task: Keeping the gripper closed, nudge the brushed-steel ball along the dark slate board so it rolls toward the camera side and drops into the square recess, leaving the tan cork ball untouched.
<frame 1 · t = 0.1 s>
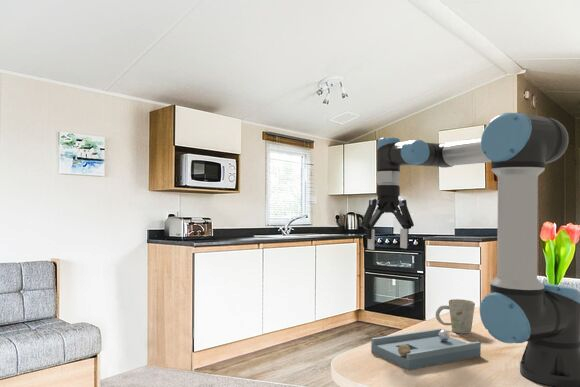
hand: (387, 248, 156), 28 cm above the table, fingers open, 13 cm apart
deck: (425, 354, 135), on the table
steel ball: (443, 335, 139), point 4 cm above the table, touching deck
mug: (454, 331, 160), on the table
cork ball: (404, 350, 125), point 4 cm above the table, touching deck
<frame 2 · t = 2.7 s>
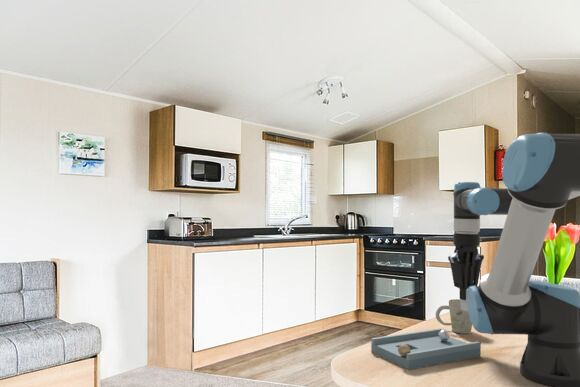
hand: (465, 310, 144), 11 cm above the table, fingers closed
nothing on the table moved.
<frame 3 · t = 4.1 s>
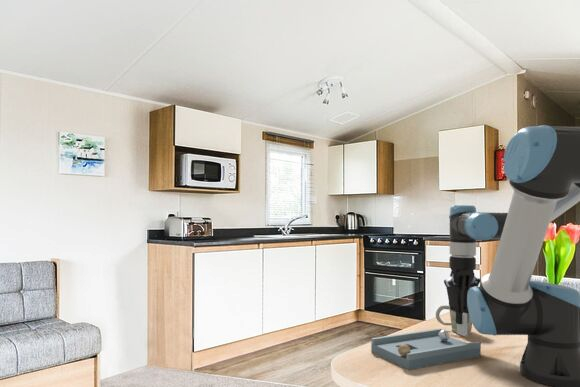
hand: (462, 334, 142), 4 cm above the table, fingers closed
nothing on the table moved.
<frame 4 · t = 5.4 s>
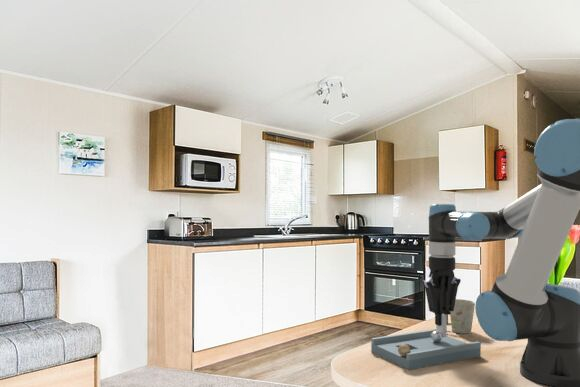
hand: (441, 335, 139), 4 cm above the table, fingers closed
steel ball: (436, 336, 138), point 4 cm above the table, tilted 91°, touching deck, gripper
everything else where it was.
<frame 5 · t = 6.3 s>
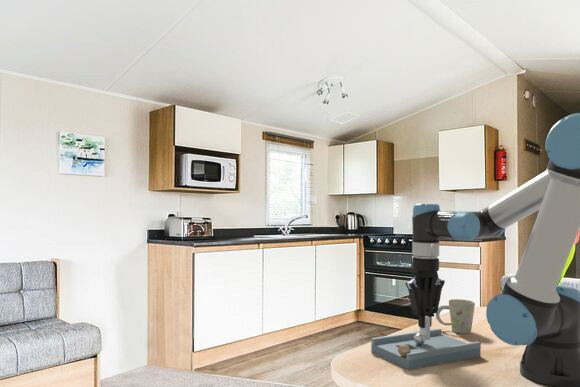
hand: (424, 338, 136), 4 cm above the table, fingers closed
steel ball: (419, 339, 135), point 4 cm above the table, tilted 78°, touching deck, gripper
everything else where it was.
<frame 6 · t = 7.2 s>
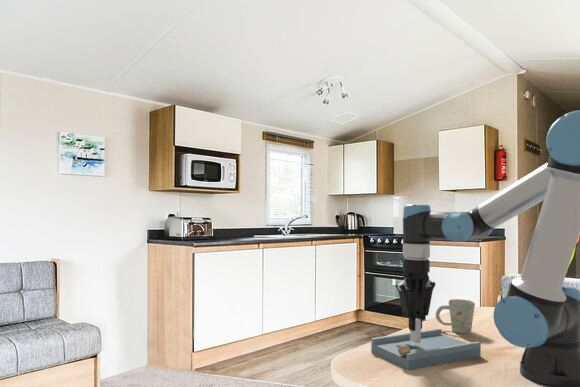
hand: (415, 341, 134), 4 cm above the table, fingers closed
steel ball: (404, 350, 133), point 2 cm above the table, tilted 157°
everything else where it was.
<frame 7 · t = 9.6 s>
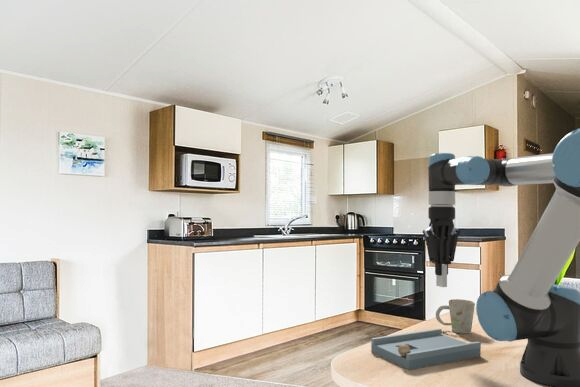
hand: (441, 286, 139), 19 cm above the table, fingers closed
nothing on the table moved.
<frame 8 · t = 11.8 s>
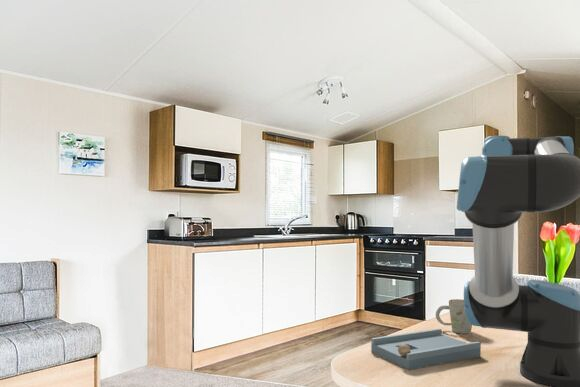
hand: (496, 266, 141), 24 cm above the table, fingers closed
nothing on the table moved.
at the end: steel ball 0.4 cm from the target spot on the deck, point 1.6 cm above the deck's base; cork ball moved 0.0 cm from its start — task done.
